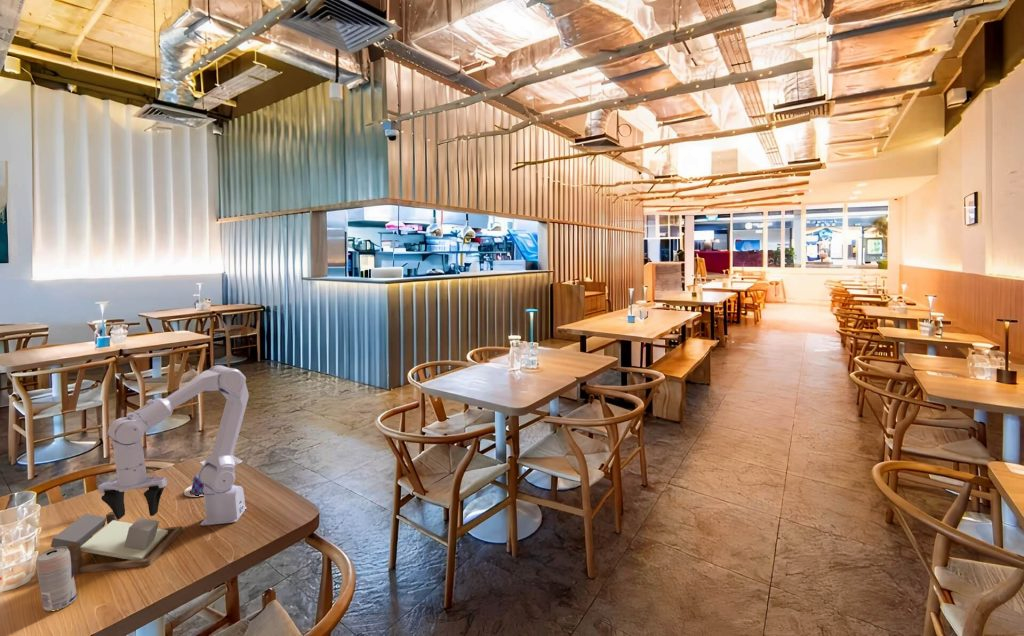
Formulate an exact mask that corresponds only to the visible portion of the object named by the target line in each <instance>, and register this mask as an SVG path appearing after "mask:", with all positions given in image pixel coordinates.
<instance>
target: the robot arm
mask: <svg viewBox="0 0 1024 636" xmlns="http://www.w3.org/2000/svg"><path fill="white" fill-rule="evenodd" d="M246 380H247V377H246V376H245V375H244V374H243V372H241V370H239V369H237V368H233V367H227V366H225V365H221V364H218V365H213V366H211V367H210V368H209V369H206V370H204V371H202V372H201V373H200V374H199V375H198V376H196V377H195V378H193V379H192V380H191V381H188V382H187V383H186V384H184V385H183V386H181V387H179V388H178V389H177V390H175V391H174V392H172V393H171V394H169V395H168V396H167V397H165V398H160V397H156V398H154V399H152V398H150V399H148V400H147V401H146V402H145V403H146V404H145V405H143V406H141V407H139V408H138V409H136V410H135V411H133V412H131V411H130V412H128V413H126V417H125V416H124V417H118V418H117V419H115V420H113V421H112V422H111V423H110V425H109V426H108V429H107V431H106V434H107V436H108V437H109V438H110V439H111V440H112V446H113V459H114V465H115V472H116V476H117V477H116V478H117V480H113V481H105V482H102V483H101V484H100V485H98V486H97V487H98V493H99V494H104V495H102V496H101V500H102V501H103V502H104V503H105V504H106V505H107V506H108V507H109V508H110V509H111V512H114V514H115V516H116V518H117V519H119V520H120V519H122V518H123V517H124V516H126V508H125V492H128V491H130V490H138V489H146V490H145V491H144V492H143V496H144V498H145V501H146V502H147V505H148V513H149V516H150V517H153V516H155V515H156V514H157V513H158V511H159V504H160V500H161V496H162V495H163V492H164V489H165V488H166V486H167V485H168V480H167V477H166V476H165V477H162V476H161V477H160V476H147V469H146V461H145V455H144V448H143V447H144V446H143V444H142V443H143V442H142V438H143V437H144V435H145V433H146V432H147V431H149V430H150V429H152V428H154V427H155V426H157V425H158V424H160V423H161V422H163V421H165V420H166V419H168V418H169V417H171V416H172V414H173V412H174V409H175V408H176V407H178V406H181V405H182V404H184V403H186V402H187V401H189V400H190V399H192V398H194V397H196V396H197V395H199V394H201V393H202V392H213V391H216V392H217V391H219V392H220V393H221V394H222V395H223V396H224V399H226V401H225V405H224V409H223V412H222V416H221V419H220V423H219V427H218V430H217V435H216V437H215V439H214V440H215V441H214V444H213V448H212V451H211V454H210V455H208V456H207V457H206V458H205V461H204V464H203V466H202V467H201V468H200V470H199V471H198V473H197V474H198V479H199V481H200V482H201V483H203V484H204V489H203V493H204V495H203V502H204V508H205V518H204V519H203V520H202V521H201V523H200V524H199V525H200V526H201V527H202V526H211V525H212V526H213V525H221V524H230V523H237V521H238V520H239V519H240V518H241V516H242V515H243V513H244V512H245V509H246V510H247V506H246V501H245V491H244V488H243V486H241V485H236V484H234V483H235V482H236V473H235V468H236V463H235V459H234V453H235V448H236V446H237V445H236V444H237V442H238V439H239V438H238V437H239V434H240V430H241V427H242V423H243V421H244V420H243V419H244V416H245V412H246V409H247V405H248V402H249V396H250V394H249V391H248V387H247V383H246V382H247V381H246Z"/></svg>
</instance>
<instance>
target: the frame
mask: <svg viewBox="0 0 1024 636" xmlns="http://www.w3.org/2000/svg"><path fill="white" fill-rule="evenodd" d="M105 517H106V523H107V524H106V525H108V524H109V523H110V522H111V521H112V520H115V521H120V519H117V518H116V516H115V514H114V512H113V511H109V512H108V513H107V514H106V515H105ZM158 529H163V530H168V534H169V535H168V536H167V538H166V539H165V540H164V541H163V542H161V544H159V546H158V547H157V548H156V549H155V550H154V551H153V552H152V553H151V554H150V555H149V556H148V557H147V558H144V559H139V560H123V561H121V560H120V561H112V562H104V563H95V564H87V565H84V563H83V557H82V551H81V550H80V547H81V546H82V545H83V544H84V543H86V542H87V541H88V540H89V539H90V538H92V537H93V536H91V537H90V538H89V539H88V540H86V541H85V542H84V543H83V544H82V545H80V543H79V542H78V543H70V544H68V545H67V546H66V547H67V548H68V550H69V551H70V557H71V563H72V569H73V575H79V574H81V573H82V574H84V573H91V572H92V573H93V572H103V571H108V570H110V571H111V570H118V569H128V568H135V567H144V566H151V564H153V563H154V562H155V561H156V559H158V558H159V556H160V555H161V554H162V553H163V552H164V551H165V550H166V548H167V547H168V546H170V544H172V542H173V541H174V540H175V539H176V538H177V537H178V536H179V534H181V533H182V532H183V526H182V525H180V526H171V527H169V526H168V527H162V528H159V527H158Z"/></svg>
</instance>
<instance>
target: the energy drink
mask: <svg viewBox="0 0 1024 636" xmlns="http://www.w3.org/2000/svg"><path fill="white" fill-rule="evenodd" d="M35 566H36V567H35V568H36V571H37V572H36V573H37V578H38V584H39V590H40V595H41V602H42V607H43V610H44V611H45V610H46V611H45V612H47V611H52V610H57V609H60V610H62V609H61V608H63V609H65V608H66V607H65V606H67V605H69V604H70V605H72V604H73V603H72V602H73V601H74V600H76V599H77V597H78V596H77V587H76V582H75V578H74V577H75V574H73V569H72V563H71V557H70V551H69V550H68V548H67V547H65V546H61V547H56V548H53V547H51V548H49V549H46V550H45V551H42V552H41V553H40V554H38V555H37V556H36V560H35ZM74 602H75V601H74ZM70 605H69V606H70ZM64 607H65V608H64ZM67 607H68V606H67ZM57 611H58V610H57Z"/></svg>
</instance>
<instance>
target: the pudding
mask: <svg viewBox="0 0 1024 636" xmlns="http://www.w3.org/2000/svg"><path fill="white" fill-rule="evenodd" d="M203 489H204V484H203V483H201V482H200V481H199V479H198V473H197V474H195V475H194V477H193V479H192V484H191V485H190V486H188V487H187V488H186V489H184V491H183V495H185V496H186V497H193V498H195V497H197V496H195V495H194V494H199V496H198V497H201V496H203V497H204V495H203ZM190 491H191V494H192V493H194V494H193V495H190V493H189V492H190ZM200 493H202V494H200Z"/></svg>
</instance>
